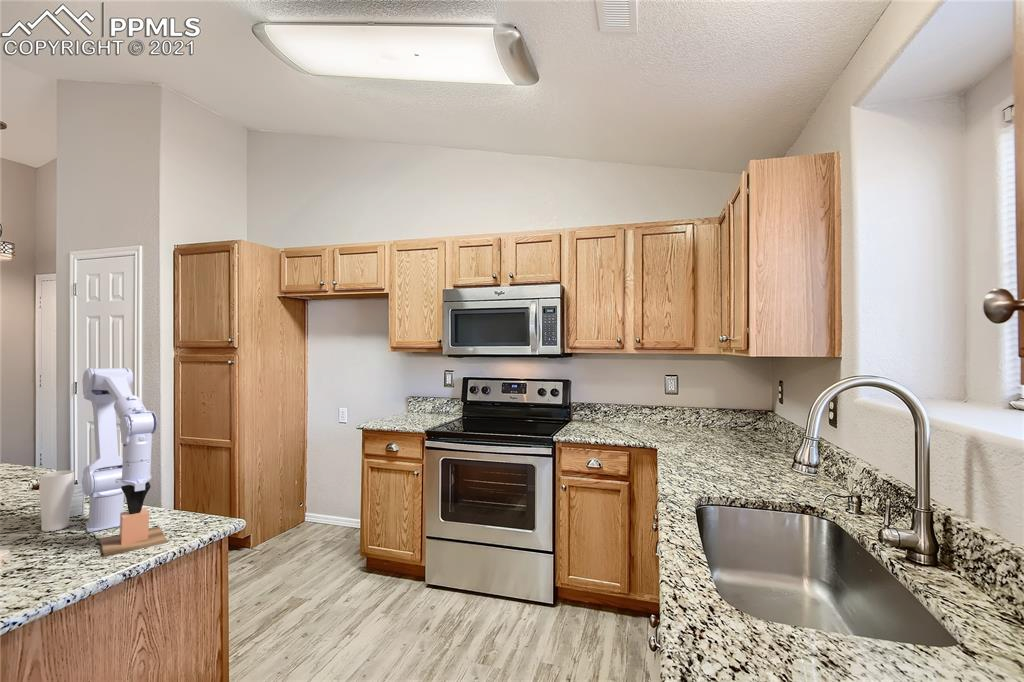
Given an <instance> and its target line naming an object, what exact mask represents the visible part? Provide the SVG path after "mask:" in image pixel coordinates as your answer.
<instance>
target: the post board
mask: <svg viewBox="0 0 1024 682" xmlns="http://www.w3.org/2000/svg"><path fill="white" fill-rule="evenodd" d="M99 542H100V548H101V550H102V554H103V558H104V557H109V556H114V555H117V554H118V555H119V554H122V553H127V552H131V551H136V550H140V549H145V548H150V547H153V546H157V545H163V544H165V543H167V542H168V538H167V537H166V535H165V533H164V532H163V530H162V529H161V527H160V526H155V527H149V530H148V539H146V540H142V541H137V542H133V543H128V544H123V545H121V542H120V540H119V534H114V535H110V536H106V537H100V538H99ZM167 544H168V543H167Z"/></svg>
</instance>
